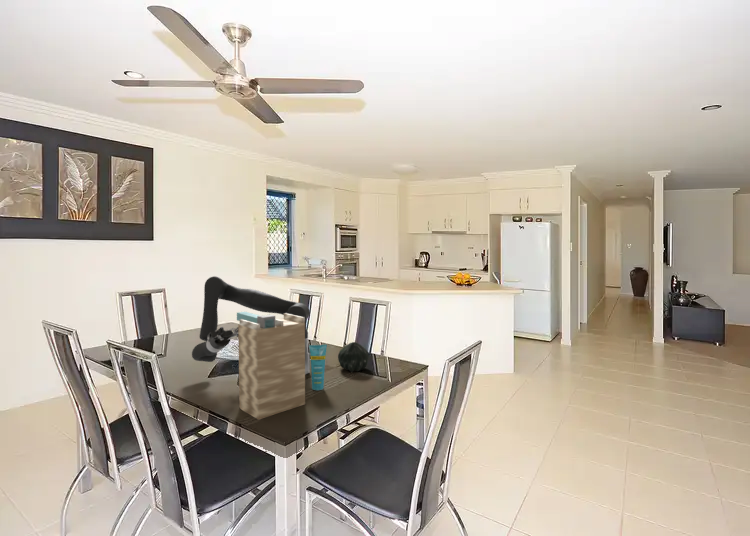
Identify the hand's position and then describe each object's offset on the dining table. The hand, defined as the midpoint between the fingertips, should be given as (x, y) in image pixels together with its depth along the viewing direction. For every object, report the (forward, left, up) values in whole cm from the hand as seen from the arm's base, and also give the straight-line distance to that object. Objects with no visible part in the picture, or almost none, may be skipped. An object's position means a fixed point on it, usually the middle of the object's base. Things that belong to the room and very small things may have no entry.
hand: (233, 327), depth 168 cm
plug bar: (-3, +17, +4) cm, 18 cm away
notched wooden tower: (-9, +21, -28) cm, 36 cm away
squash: (-58, 0, -28) cm, 65 cm away
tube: (-32, +14, -28) cm, 44 cm away
